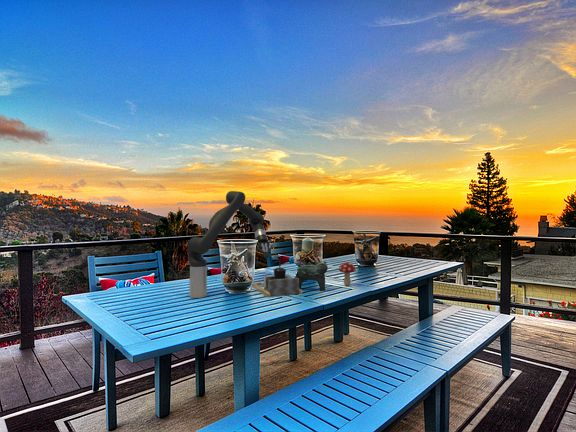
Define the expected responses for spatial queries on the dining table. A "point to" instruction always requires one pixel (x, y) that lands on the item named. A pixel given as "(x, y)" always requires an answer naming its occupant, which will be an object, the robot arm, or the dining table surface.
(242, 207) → the robot arm
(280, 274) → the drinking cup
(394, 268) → the dining table surface
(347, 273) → the decorative mushroom
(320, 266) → the dark green legged piece
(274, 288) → the vise frame
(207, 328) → the dining table surface
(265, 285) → the sliding jaw
